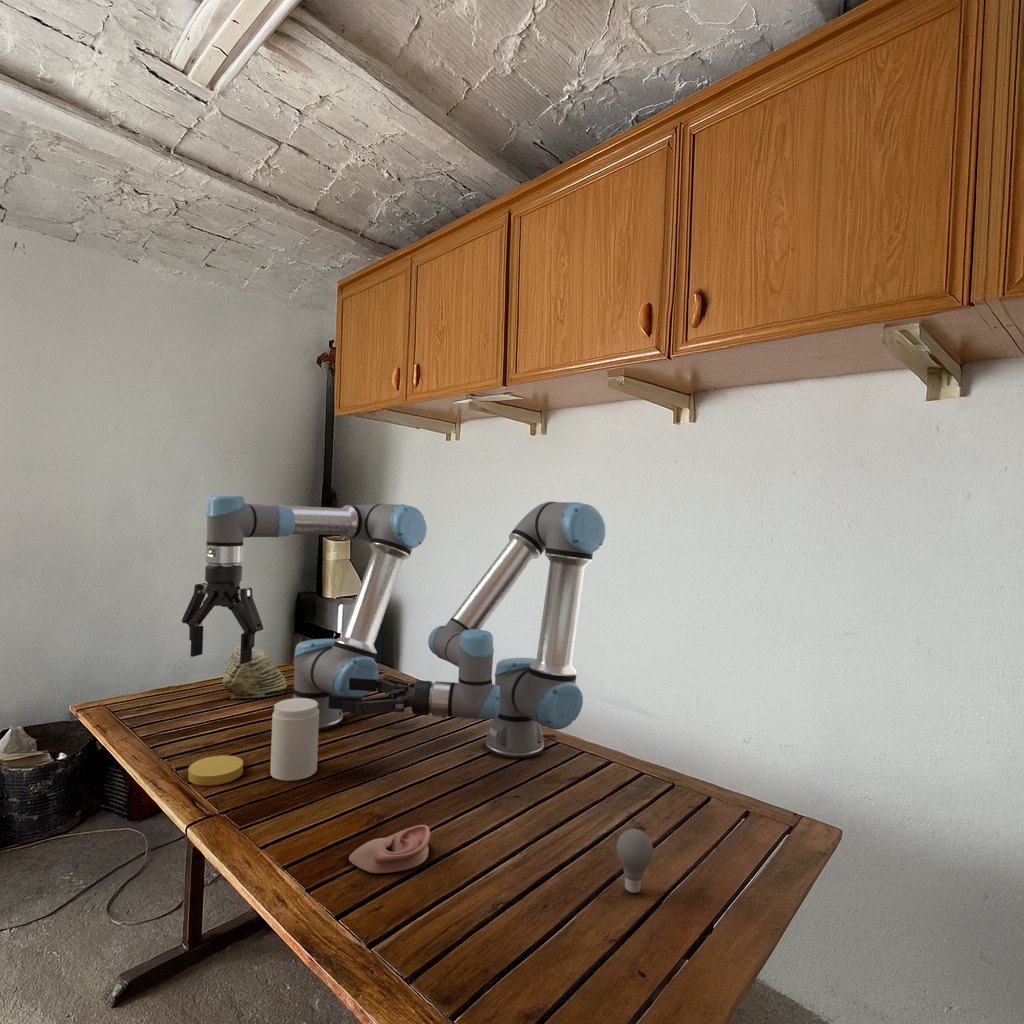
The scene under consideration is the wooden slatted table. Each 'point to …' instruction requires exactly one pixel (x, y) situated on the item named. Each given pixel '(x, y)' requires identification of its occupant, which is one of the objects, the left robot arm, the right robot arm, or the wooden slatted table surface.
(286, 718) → the jar
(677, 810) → the wooden slatted table surface
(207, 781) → the lid
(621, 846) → the light bulb
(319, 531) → the left robot arm
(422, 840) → the anatomical model
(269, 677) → the fossil
